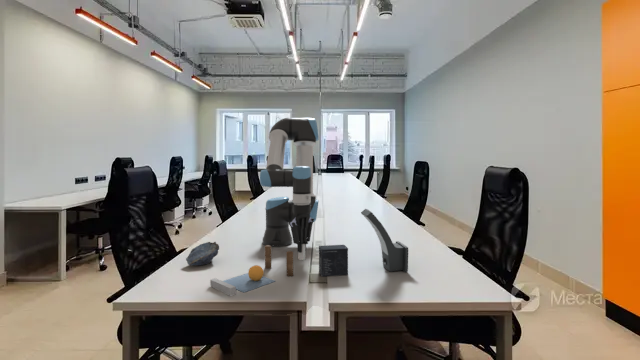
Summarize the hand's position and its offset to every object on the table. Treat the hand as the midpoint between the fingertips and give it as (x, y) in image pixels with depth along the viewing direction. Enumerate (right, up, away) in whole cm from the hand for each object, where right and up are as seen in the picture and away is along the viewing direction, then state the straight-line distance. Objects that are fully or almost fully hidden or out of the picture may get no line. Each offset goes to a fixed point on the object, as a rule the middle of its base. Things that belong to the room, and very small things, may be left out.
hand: (301, 259), depth 152 cm
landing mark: (-19, -4, -21) cm, 28 cm away
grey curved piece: (+33, -3, -6) cm, 34 cm away
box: (+13, -3, -11) cm, 17 cm away
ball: (-16, -1, -19) cm, 25 cm away
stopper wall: (-25, -4, -29) cm, 39 cm away
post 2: (-4, -3, -14) cm, 15 cm away
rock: (-41, -2, 0) cm, 41 cm away
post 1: (-13, -2, -5) cm, 15 cm away
